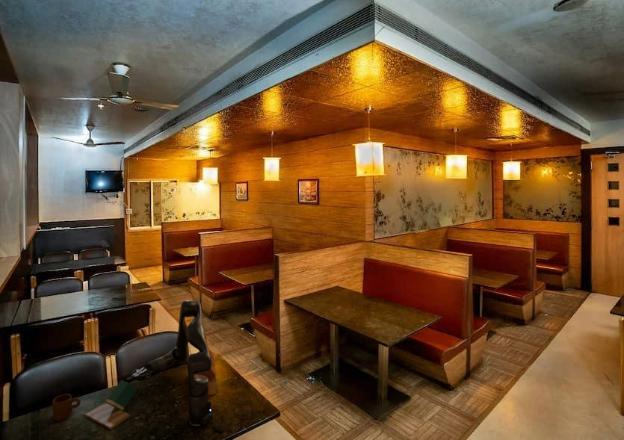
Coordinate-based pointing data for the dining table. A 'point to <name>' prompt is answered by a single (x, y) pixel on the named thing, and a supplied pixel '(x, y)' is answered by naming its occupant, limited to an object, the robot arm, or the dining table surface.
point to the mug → (64, 406)
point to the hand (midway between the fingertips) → (126, 381)
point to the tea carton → (121, 395)
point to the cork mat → (107, 415)
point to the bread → (211, 376)
